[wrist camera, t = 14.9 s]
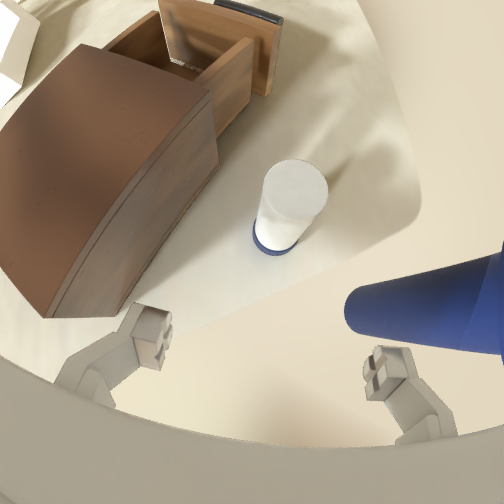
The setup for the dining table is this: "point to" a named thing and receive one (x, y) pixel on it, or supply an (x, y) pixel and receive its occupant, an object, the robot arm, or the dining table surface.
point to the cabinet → (98, 179)
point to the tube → (288, 205)
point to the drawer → (209, 49)
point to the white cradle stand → (14, 46)
